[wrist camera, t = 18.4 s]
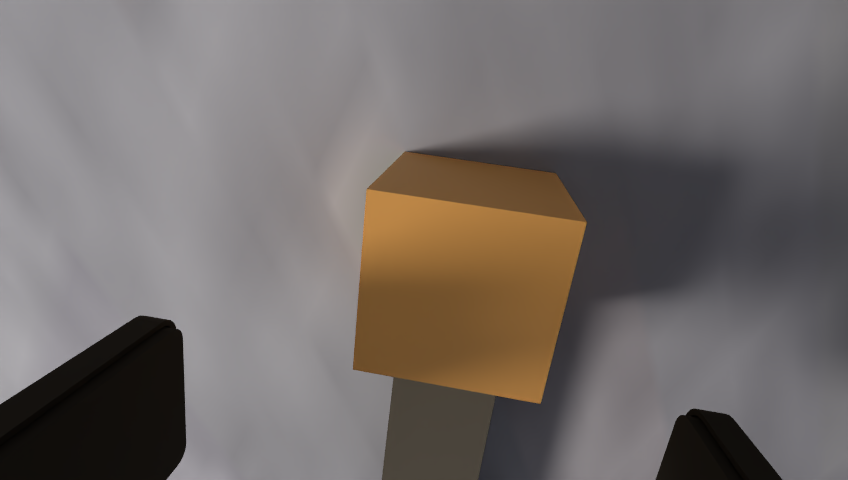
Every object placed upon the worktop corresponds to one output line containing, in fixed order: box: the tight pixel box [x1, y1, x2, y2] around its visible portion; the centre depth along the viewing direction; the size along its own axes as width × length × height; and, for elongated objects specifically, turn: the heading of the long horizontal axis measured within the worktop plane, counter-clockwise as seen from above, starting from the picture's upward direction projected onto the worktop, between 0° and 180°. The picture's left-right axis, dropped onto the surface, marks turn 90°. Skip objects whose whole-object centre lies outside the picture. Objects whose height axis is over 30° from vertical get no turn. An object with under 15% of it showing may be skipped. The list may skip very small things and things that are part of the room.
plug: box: [353, 152, 587, 480], centre depth 12 cm, size 12×4×4 cm, turn 173°
